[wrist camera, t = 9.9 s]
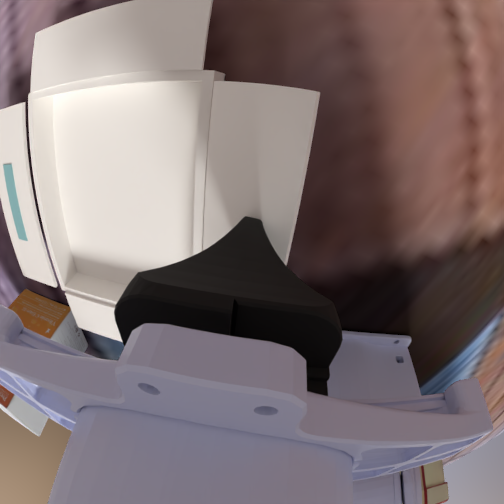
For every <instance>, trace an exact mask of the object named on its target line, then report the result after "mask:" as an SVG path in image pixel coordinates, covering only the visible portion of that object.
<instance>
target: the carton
mask: <svg viewBox="0 0 504 504" xmlns="http://www.w3.org/2000/svg"><path fill="white" fill-rule="evenodd" d="M212 4H213V0H133V1H128V2H124V3H120V4H116V5H112V6H108V7H104V8H101V9H97V10H94V11H91V12H88V13H85V14H82V15H79V16H76V17H73V18H70V19H68V20H65V21H63V22H60V23H58V24H55V25H53V26H50V27H48V28H46V29H44V30H41V31H39V32H37V33H36V35H35V42H34V49H33V58H32V70H31V89H30V93H29V94H28V122H29V140H30V152H31V162H32V170H33V177H34V184H35V190H36V196H37V201H38V206H39V211H40V216H41V220H42V225H43V229H44V233H45V237H46V241H47V244H48V248H49V251H50V255H51V258H52V262H53V265H54V268H55V271H56V274H57V277H58V280H59V283H60V286H61V289H62V290H63V291H66V292H65V295H66V298H67V300H68V303H69V306H70V308H71V311H72V313H73V316H74V318H75V320H76V323H77V325H78V327H79V328H82V329H85V330H87V331H90V332H93V333H96V334H99V335H102V336H105V337H108V338H111V339H114V340H117V341H121V342H122V339H121V336H120V333H119V330H118V327H117V324H116V321H115V316H114V310H115V305H116V304H117V302H118V300H119V299H120V297H121V295H122V294H123V292H124V290H125V289H126V287H127V286H128V284H129V283H130V281H131V280H132V279H133V278H134V276H135V275H136V274H137V273H138V272H142V271H147V270H151V269H156V268H160V267H164V266H167V265H170V264H174V263H177V262H179V261H182V260H185V259H187V258H189V257H191V256H193V255H196V254H198V253H200V252H202V251H203V232H204V206H205V187H206V170H207V155H208V141H209V129H210V117H211V106H212V96H213V87H214V81H225V74H224V73H221V72H218V71H215V70H203V69H204V60H205V52H206V44H207V37H208V30H209V23H210V16H211V10H212Z"/></svg>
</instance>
